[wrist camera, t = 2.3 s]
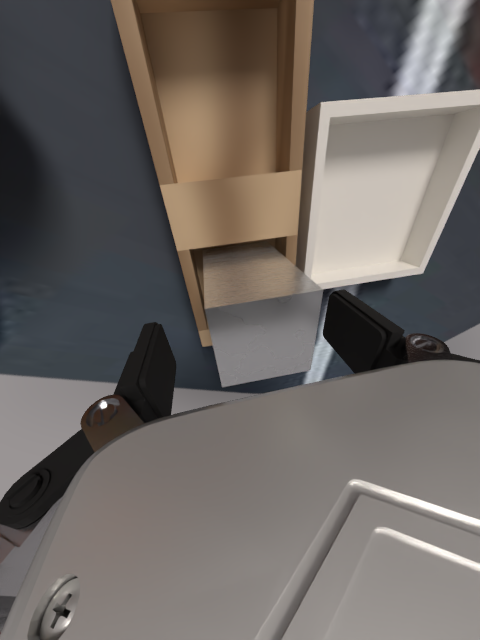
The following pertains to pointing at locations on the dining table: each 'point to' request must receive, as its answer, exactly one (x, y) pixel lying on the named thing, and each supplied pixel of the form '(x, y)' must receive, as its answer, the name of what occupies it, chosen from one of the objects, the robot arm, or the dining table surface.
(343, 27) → the dining table surface
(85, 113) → the dining table surface
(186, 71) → the wooden compartment tray
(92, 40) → the dining table surface
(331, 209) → the dish
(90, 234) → the dining table surface
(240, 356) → the gray rectangular block
